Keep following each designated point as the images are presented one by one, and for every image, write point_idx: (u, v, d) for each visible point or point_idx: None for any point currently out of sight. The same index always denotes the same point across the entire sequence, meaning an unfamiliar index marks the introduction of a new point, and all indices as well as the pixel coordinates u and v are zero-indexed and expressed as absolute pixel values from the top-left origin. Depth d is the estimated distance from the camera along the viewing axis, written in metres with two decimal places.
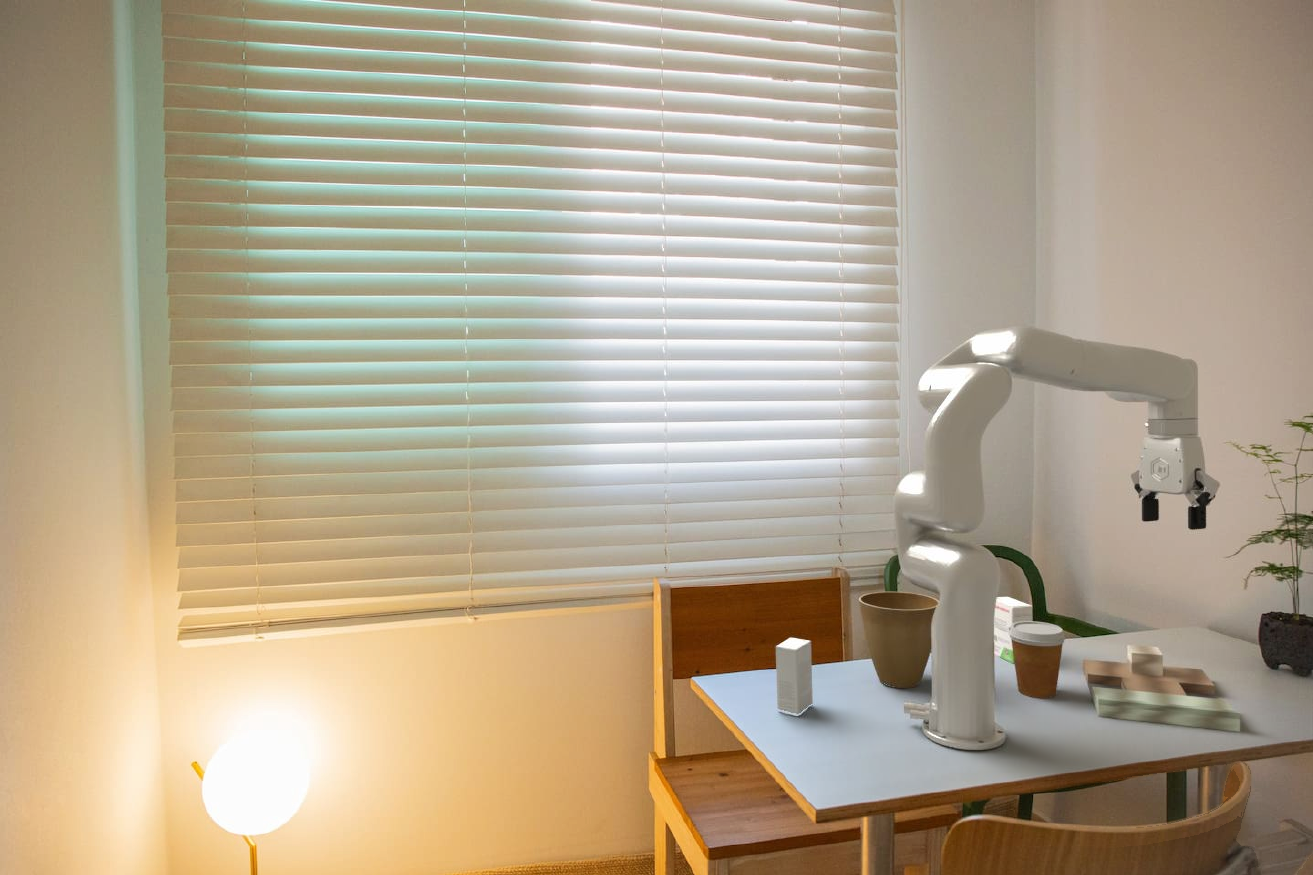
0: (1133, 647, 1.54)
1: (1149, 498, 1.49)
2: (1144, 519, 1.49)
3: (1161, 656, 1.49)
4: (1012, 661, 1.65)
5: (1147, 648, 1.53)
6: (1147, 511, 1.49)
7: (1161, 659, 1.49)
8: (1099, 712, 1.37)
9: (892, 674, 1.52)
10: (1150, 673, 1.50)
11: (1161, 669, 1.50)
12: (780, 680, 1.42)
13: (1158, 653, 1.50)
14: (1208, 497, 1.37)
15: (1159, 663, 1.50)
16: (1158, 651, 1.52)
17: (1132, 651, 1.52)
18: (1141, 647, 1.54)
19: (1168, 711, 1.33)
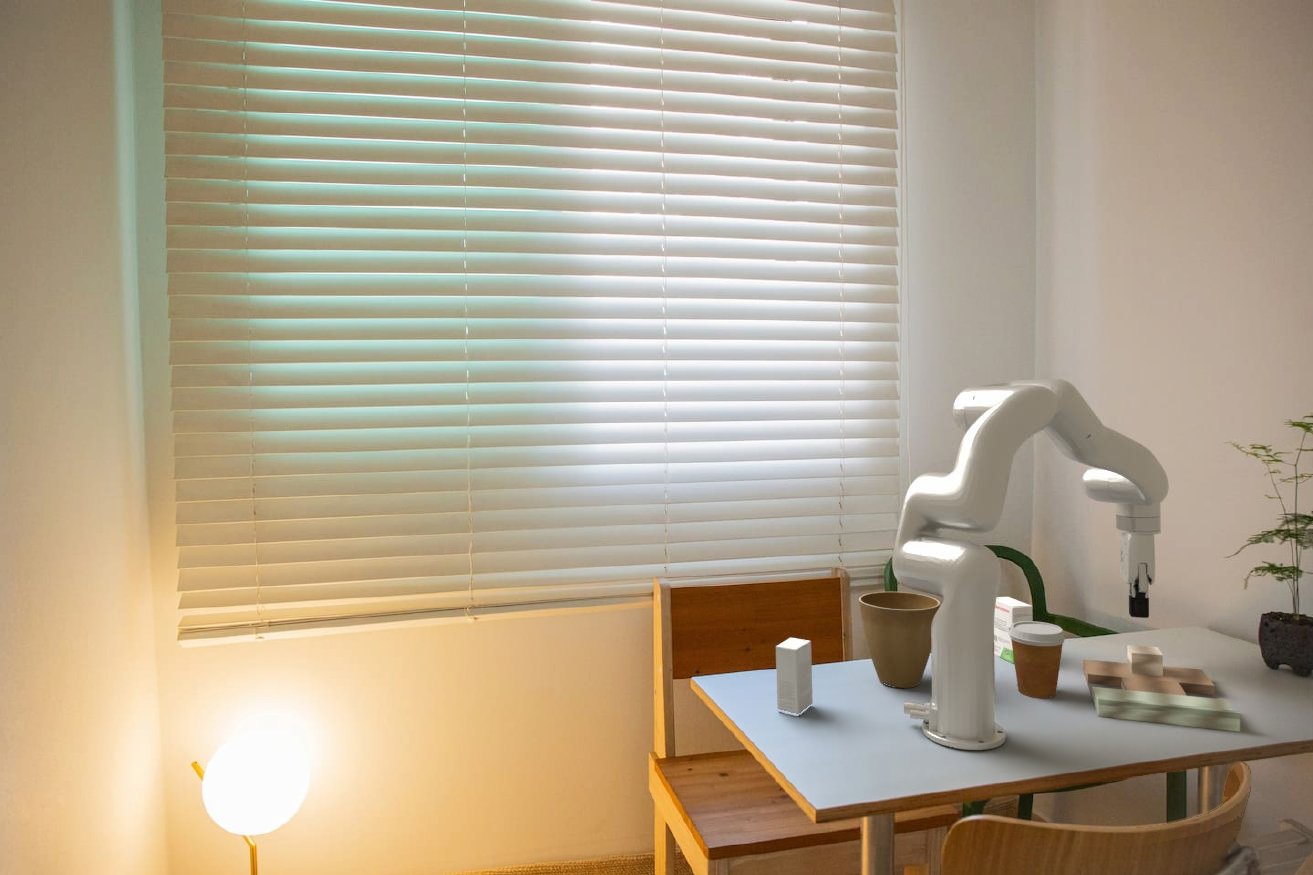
0: (1133, 647, 1.54)
1: None
2: (1129, 613, 1.61)
3: (1161, 656, 1.49)
4: (1012, 661, 1.65)
5: (1147, 648, 1.53)
6: None
7: (1161, 659, 1.49)
8: (1099, 712, 1.37)
9: (892, 674, 1.52)
10: (1150, 673, 1.50)
11: (1161, 669, 1.50)
12: (780, 680, 1.42)
13: (1158, 653, 1.50)
14: (1138, 591, 1.57)
15: (1159, 663, 1.50)
16: (1158, 651, 1.52)
17: (1132, 651, 1.52)
18: (1141, 647, 1.54)
19: (1168, 711, 1.33)
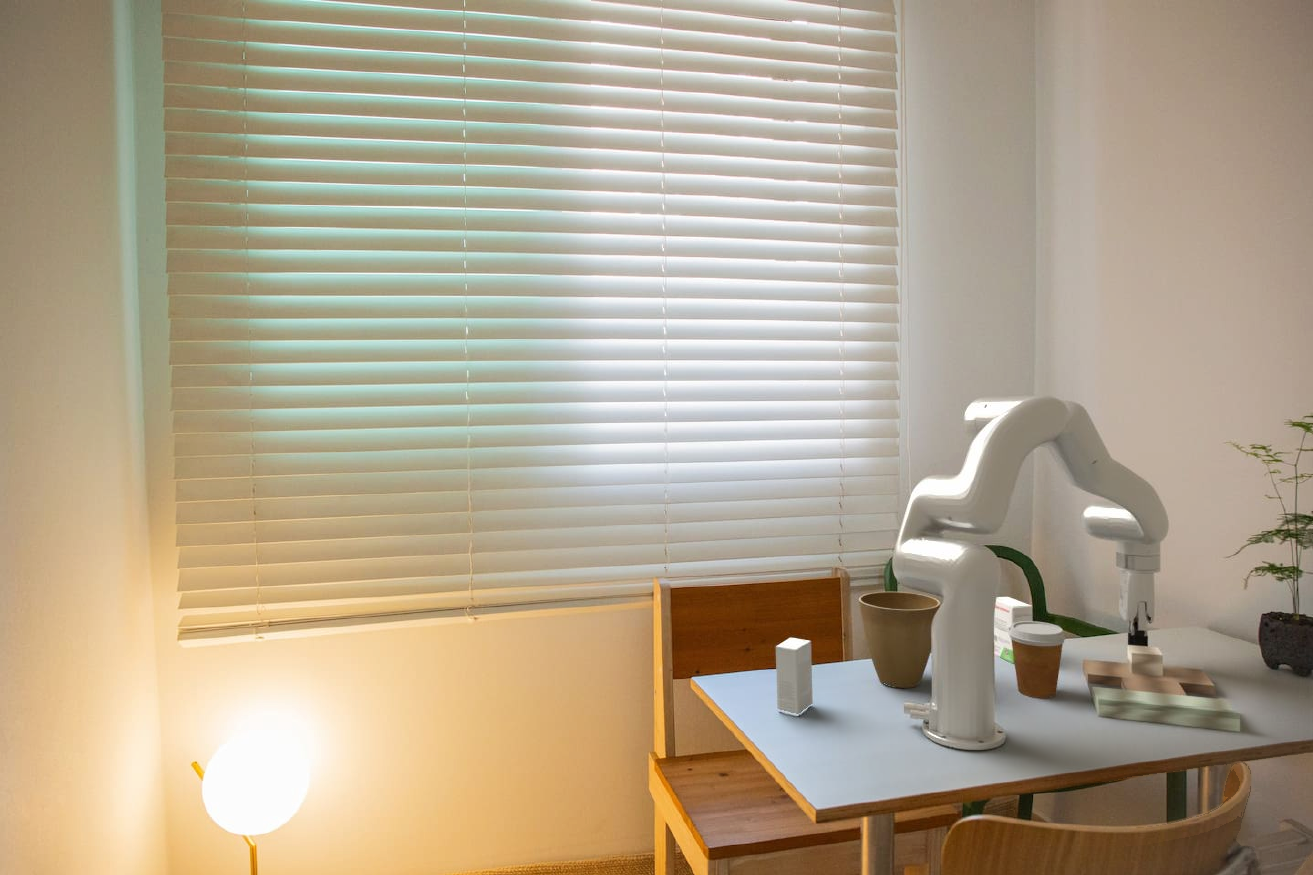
0: (1133, 647, 1.54)
1: None
2: None
3: (1161, 656, 1.49)
4: (1012, 661, 1.65)
5: (1147, 648, 1.53)
6: None
7: (1161, 659, 1.49)
8: (1099, 712, 1.37)
9: (892, 674, 1.52)
10: (1150, 673, 1.50)
11: (1161, 669, 1.50)
12: (780, 680, 1.42)
13: (1158, 653, 1.50)
14: (1137, 630, 1.57)
15: (1159, 663, 1.50)
16: (1158, 651, 1.52)
17: (1132, 651, 1.52)
18: (1141, 647, 1.54)
19: (1168, 711, 1.33)
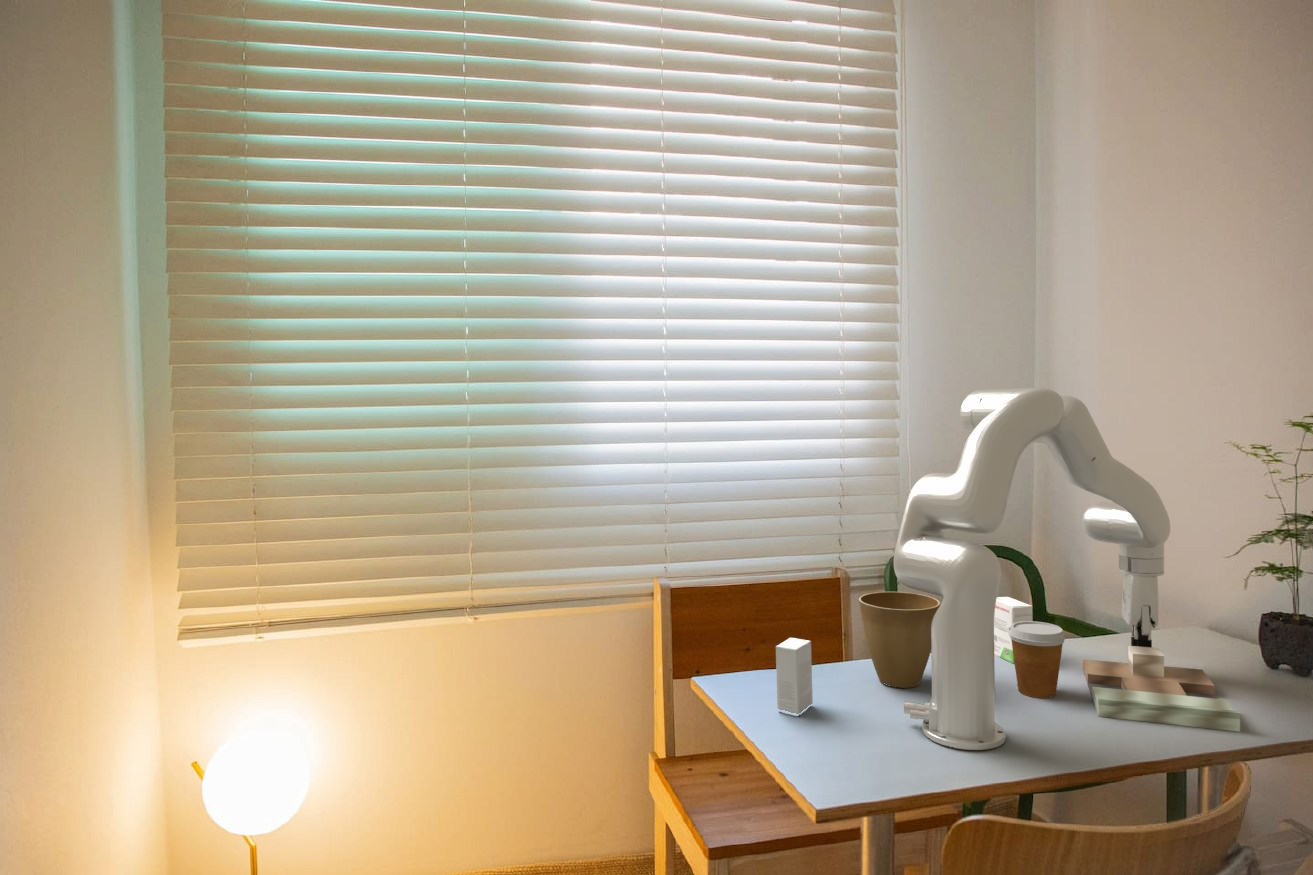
0: (1134, 648, 1.53)
1: None
2: None
3: (1162, 657, 1.49)
4: (1012, 661, 1.65)
5: (1148, 649, 1.53)
6: None
7: (1162, 660, 1.49)
8: (1099, 712, 1.37)
9: (892, 674, 1.52)
10: (1151, 674, 1.50)
11: (1162, 670, 1.49)
12: (780, 680, 1.42)
13: (1159, 654, 1.50)
14: (1140, 634, 1.54)
15: (1161, 664, 1.49)
16: (1159, 652, 1.51)
17: (1133, 652, 1.51)
18: (1142, 648, 1.53)
19: (1168, 711, 1.33)
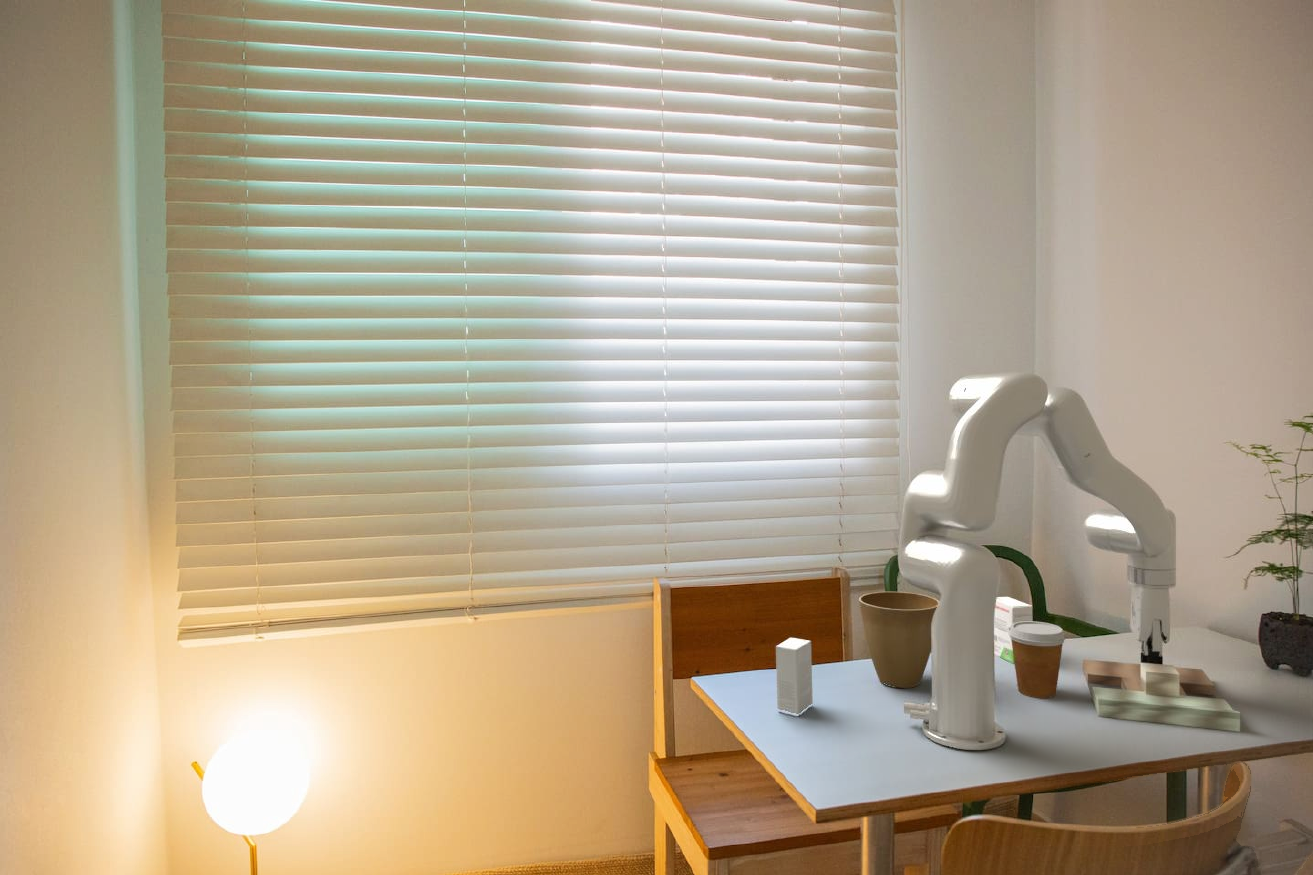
0: (1147, 665, 1.44)
1: None
2: None
3: (1177, 675, 1.39)
4: (1012, 661, 1.65)
5: (1162, 666, 1.43)
6: None
7: (1177, 678, 1.39)
8: (1099, 712, 1.37)
9: (892, 674, 1.52)
10: (1166, 693, 1.40)
11: (1178, 689, 1.39)
12: (780, 680, 1.42)
13: (1174, 672, 1.40)
14: (1151, 650, 1.44)
15: (1176, 683, 1.39)
16: (1174, 670, 1.41)
17: (1146, 670, 1.42)
18: (1155, 665, 1.44)
19: (1168, 711, 1.33)
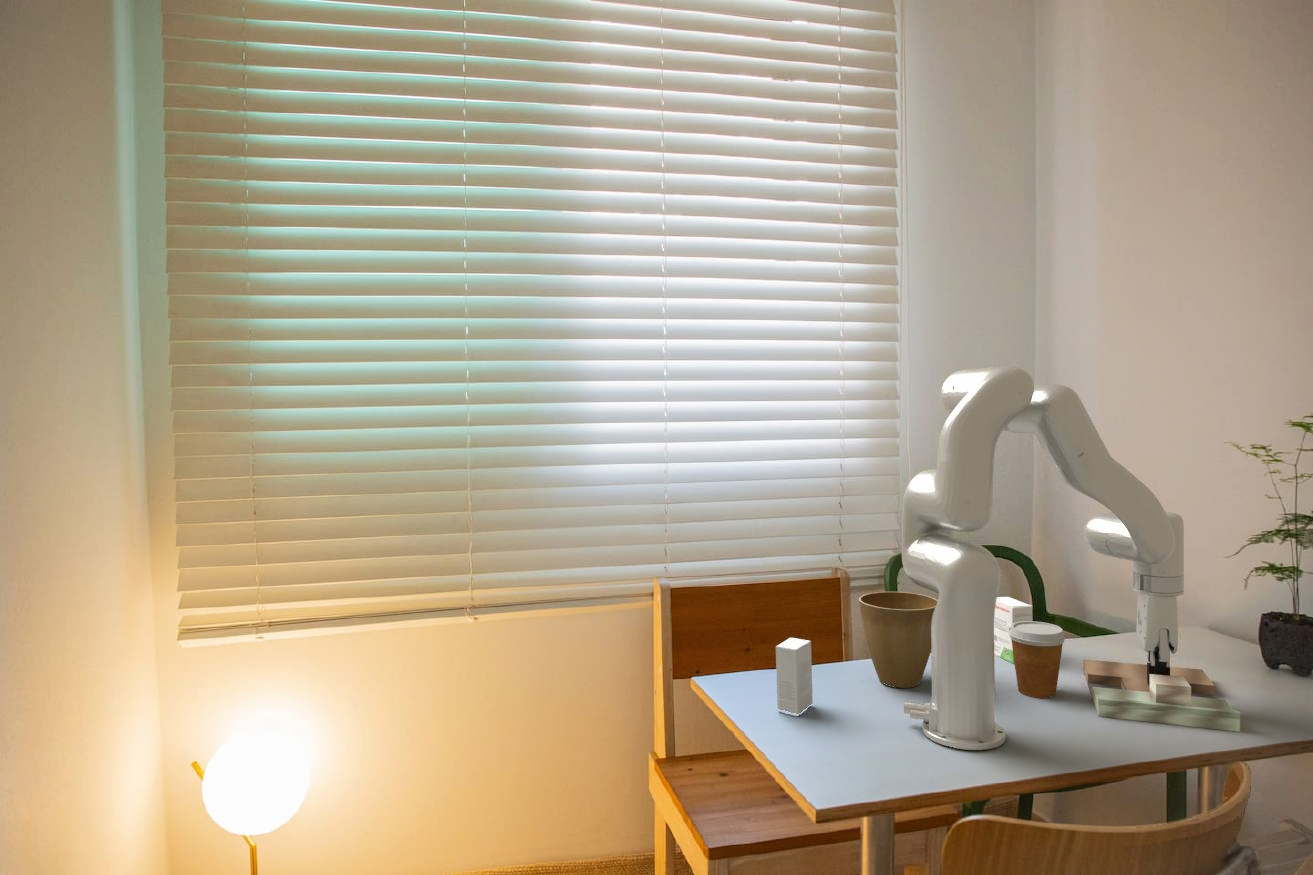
0: (1156, 677, 1.38)
1: None
2: (1148, 683, 1.42)
3: (1189, 688, 1.34)
4: (1012, 661, 1.65)
5: (1172, 678, 1.38)
6: None
7: (1189, 691, 1.34)
8: (1099, 712, 1.37)
9: (892, 674, 1.52)
10: None
11: (1189, 702, 1.34)
12: (780, 680, 1.42)
13: (1185, 684, 1.34)
14: (1158, 660, 1.39)
15: (1187, 696, 1.34)
16: (1185, 682, 1.36)
17: (1156, 682, 1.36)
18: (1165, 677, 1.38)
19: (1168, 711, 1.33)
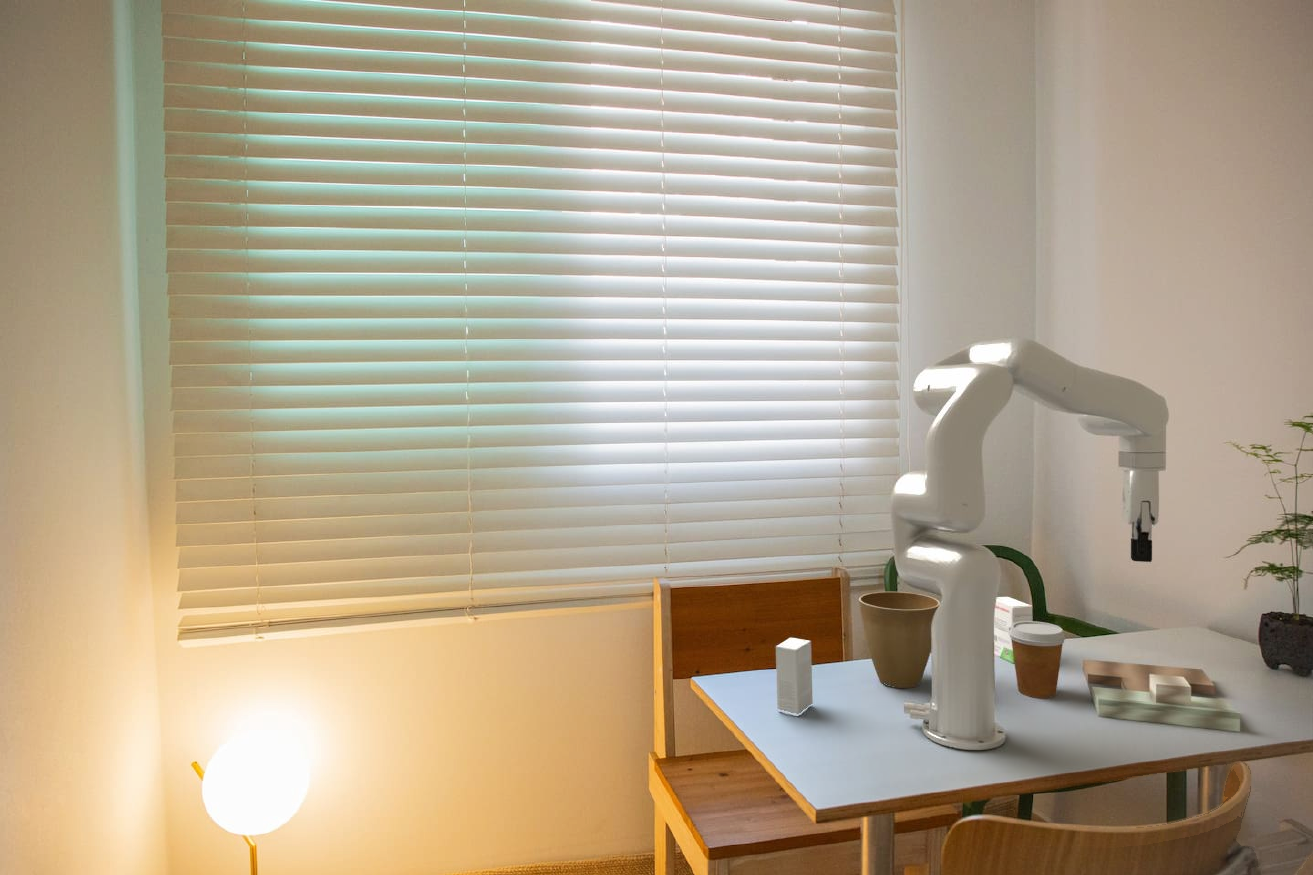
0: (1156, 677, 1.38)
1: None
2: (1131, 557, 1.51)
3: (1189, 688, 1.33)
4: (1012, 661, 1.65)
5: (1172, 678, 1.37)
6: None
7: (1189, 691, 1.33)
8: (1099, 712, 1.37)
9: (892, 674, 1.52)
10: None
11: (1189, 702, 1.34)
12: (780, 680, 1.42)
13: (1185, 684, 1.34)
14: (1140, 533, 1.47)
15: (1187, 696, 1.34)
16: (1185, 682, 1.36)
17: (1156, 682, 1.36)
18: (1165, 677, 1.38)
19: (1168, 711, 1.33)
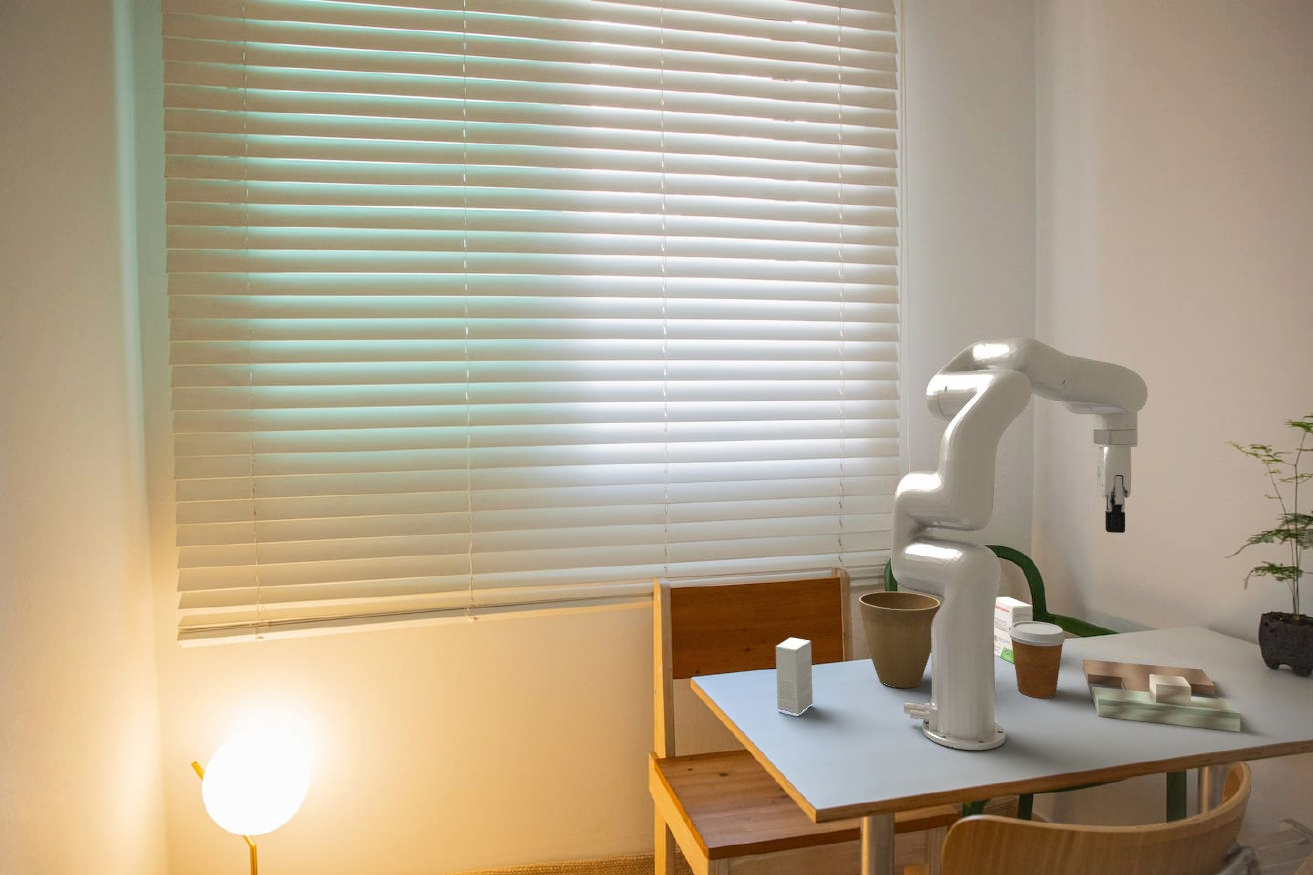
0: (1156, 677, 1.38)
1: None
2: (1106, 529, 1.60)
3: (1189, 688, 1.33)
4: (1012, 661, 1.65)
5: (1172, 678, 1.37)
6: None
7: (1189, 691, 1.33)
8: (1099, 712, 1.37)
9: (892, 674, 1.52)
10: None
11: (1189, 702, 1.34)
12: (780, 680, 1.42)
13: (1185, 684, 1.34)
14: (1114, 505, 1.57)
15: (1187, 696, 1.34)
16: (1185, 682, 1.36)
17: (1156, 682, 1.36)
18: (1165, 677, 1.38)
19: (1168, 711, 1.33)
